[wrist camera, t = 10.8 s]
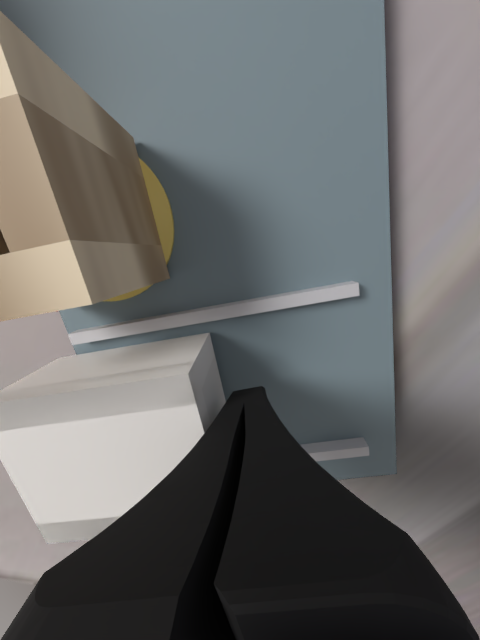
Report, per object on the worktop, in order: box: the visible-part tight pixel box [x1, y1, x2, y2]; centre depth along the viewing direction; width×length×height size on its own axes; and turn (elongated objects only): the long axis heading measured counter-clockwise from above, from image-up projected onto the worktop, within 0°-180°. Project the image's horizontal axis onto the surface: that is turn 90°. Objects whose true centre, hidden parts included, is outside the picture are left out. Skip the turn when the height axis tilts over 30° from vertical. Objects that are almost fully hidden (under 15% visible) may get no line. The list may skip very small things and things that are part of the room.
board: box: [0, 0, 397, 480], centre depth 9 cm, size 14×22×4 cm, turn 11°
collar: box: [0, 11, 170, 321], centre depth 7 cm, size 5×5×5 cm
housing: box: [0, 333, 226, 544], centre depth 10 cm, size 7×6×4 cm
